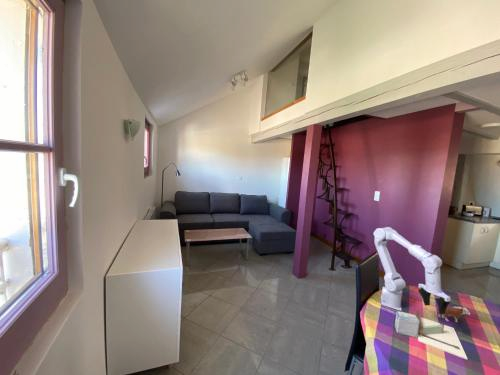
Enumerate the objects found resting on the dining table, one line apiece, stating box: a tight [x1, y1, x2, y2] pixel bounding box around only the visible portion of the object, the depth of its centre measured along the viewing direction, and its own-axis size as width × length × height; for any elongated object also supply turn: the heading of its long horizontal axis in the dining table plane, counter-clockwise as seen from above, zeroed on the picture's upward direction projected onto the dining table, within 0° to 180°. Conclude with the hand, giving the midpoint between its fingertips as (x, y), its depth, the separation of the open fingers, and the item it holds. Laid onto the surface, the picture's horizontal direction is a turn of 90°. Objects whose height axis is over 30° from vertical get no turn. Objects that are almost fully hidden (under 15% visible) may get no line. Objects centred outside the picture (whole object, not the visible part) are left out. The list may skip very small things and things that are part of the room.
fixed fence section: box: [414, 310, 421, 325], centre depth 104 cm, size 1×12×4 cm, turn 148°
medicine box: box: [394, 310, 419, 339], centre depth 100 cm, size 8×4×9 cm, turn 71°
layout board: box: [417, 316, 468, 360], centre depth 99 cm, size 16×20×1 cm
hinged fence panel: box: [418, 323, 445, 335], centre depth 99 cm, size 13×2×4 cm, turn 98°
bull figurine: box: [437, 305, 471, 324], centre depth 109 cm, size 4×13×8 cm, turn 78°
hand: (434, 309), depth 102 cm, fingers open, 7 cm apart
